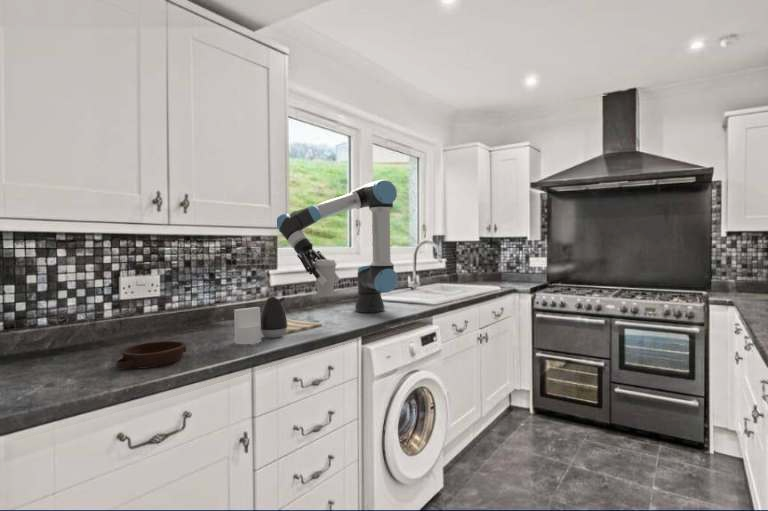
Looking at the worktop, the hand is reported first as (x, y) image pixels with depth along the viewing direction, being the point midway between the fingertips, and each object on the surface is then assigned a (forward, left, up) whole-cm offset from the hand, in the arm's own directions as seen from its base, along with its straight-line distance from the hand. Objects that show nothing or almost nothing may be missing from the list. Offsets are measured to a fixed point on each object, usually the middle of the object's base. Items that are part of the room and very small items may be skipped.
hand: (331, 282), depth 189 cm
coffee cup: (0, -3, -6) cm, 7 cm away
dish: (+71, -7, -19) cm, 74 cm away
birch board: (+11, -15, -19) cm, 26 cm away
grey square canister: (+38, -6, -19) cm, 43 cm away
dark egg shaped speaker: (+27, -5, -19) cm, 33 cm away
